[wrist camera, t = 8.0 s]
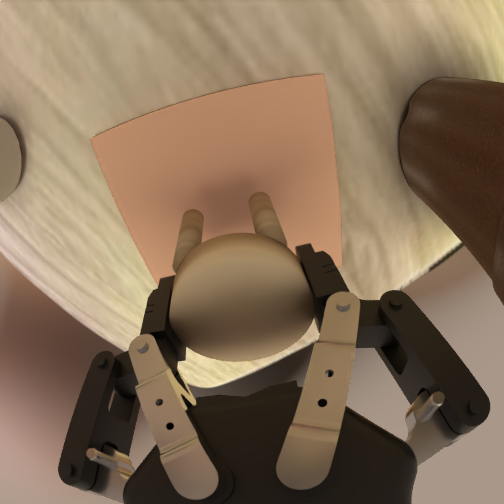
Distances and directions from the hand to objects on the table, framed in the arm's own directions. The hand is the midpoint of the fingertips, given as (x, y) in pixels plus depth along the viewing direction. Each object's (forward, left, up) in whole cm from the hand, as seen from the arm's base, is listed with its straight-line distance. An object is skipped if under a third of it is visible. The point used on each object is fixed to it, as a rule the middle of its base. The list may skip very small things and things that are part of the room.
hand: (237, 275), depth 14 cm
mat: (0, 0, -8) cm, 8 cm away
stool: (0, 0, -3) cm, 3 cm away
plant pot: (-2, +20, -9) cm, 22 cm away
